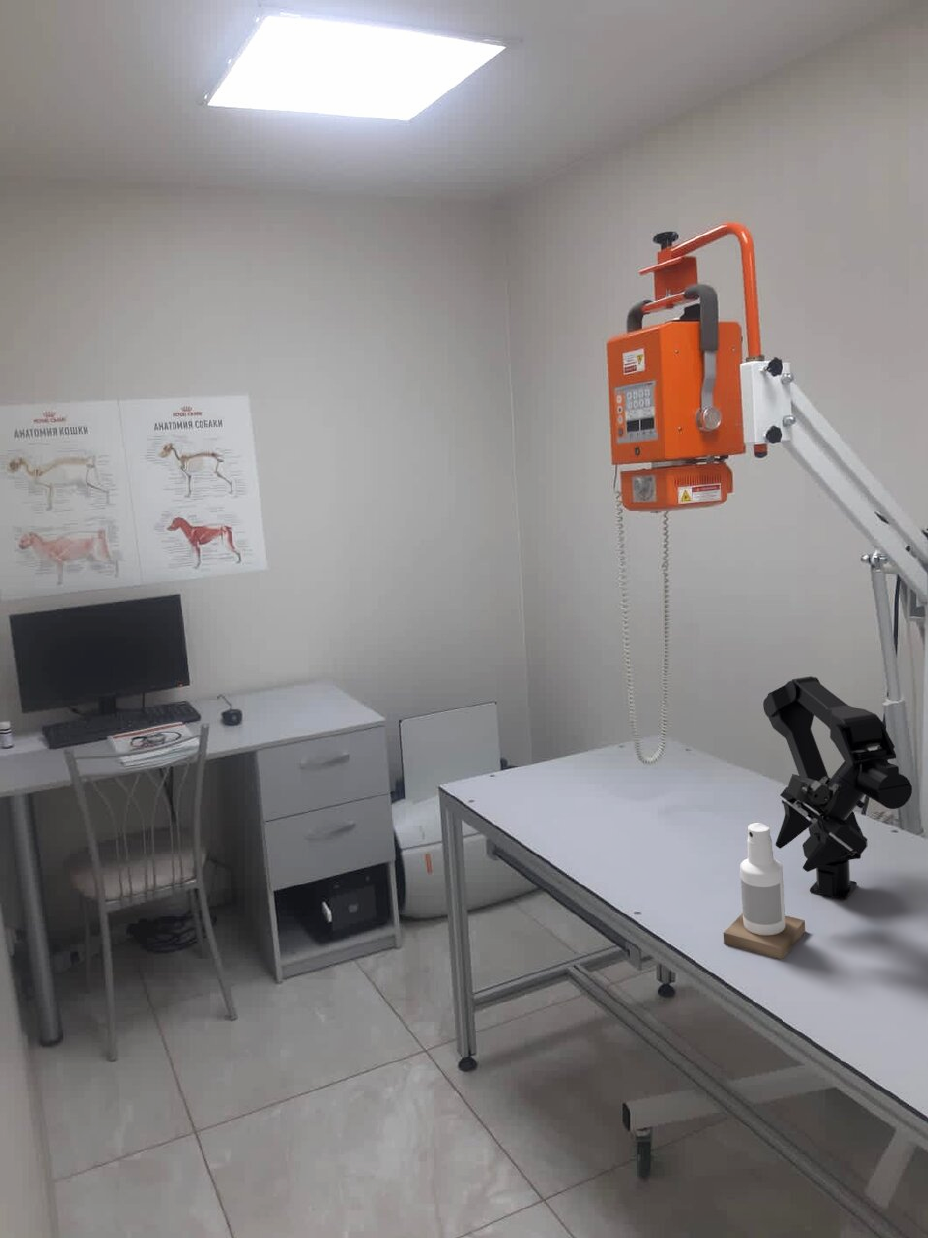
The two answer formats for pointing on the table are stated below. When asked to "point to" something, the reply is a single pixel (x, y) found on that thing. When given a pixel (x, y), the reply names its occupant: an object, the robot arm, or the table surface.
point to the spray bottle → (762, 885)
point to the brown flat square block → (765, 937)
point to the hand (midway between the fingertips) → (790, 858)
